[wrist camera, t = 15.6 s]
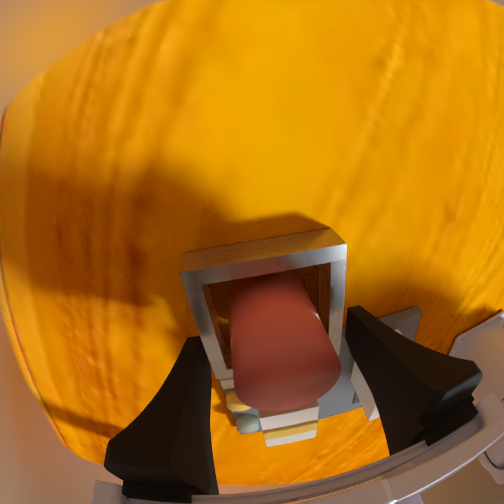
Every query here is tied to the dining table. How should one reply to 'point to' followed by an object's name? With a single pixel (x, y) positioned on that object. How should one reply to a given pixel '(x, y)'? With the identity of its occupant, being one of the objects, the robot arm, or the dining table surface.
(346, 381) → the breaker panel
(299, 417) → the toggle
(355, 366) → the toggle
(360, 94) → the dining table surface
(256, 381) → the cap
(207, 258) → the frame
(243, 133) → the dining table surface
